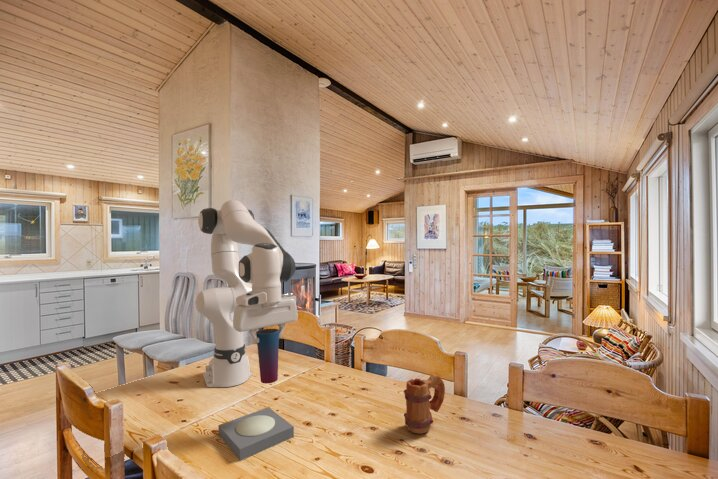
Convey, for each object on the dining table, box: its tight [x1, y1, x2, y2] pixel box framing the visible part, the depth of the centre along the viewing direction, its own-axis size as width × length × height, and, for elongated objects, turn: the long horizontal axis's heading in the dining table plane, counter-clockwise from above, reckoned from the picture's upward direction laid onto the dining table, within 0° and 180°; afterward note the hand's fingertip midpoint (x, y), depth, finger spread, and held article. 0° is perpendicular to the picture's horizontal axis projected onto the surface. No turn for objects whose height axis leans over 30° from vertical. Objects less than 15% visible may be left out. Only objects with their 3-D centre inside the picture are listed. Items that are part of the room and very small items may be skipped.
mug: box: [403, 373, 446, 434], centre depth 104 cm, size 15×8×15 cm, turn 117°
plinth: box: [217, 407, 295, 461], centre depth 100 cm, size 16×16×3 cm
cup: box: [255, 328, 280, 384], centre depth 105 cm, size 7×7×15 cm
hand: (267, 340), depth 105 cm, fingers closed on cup, 6 cm apart
